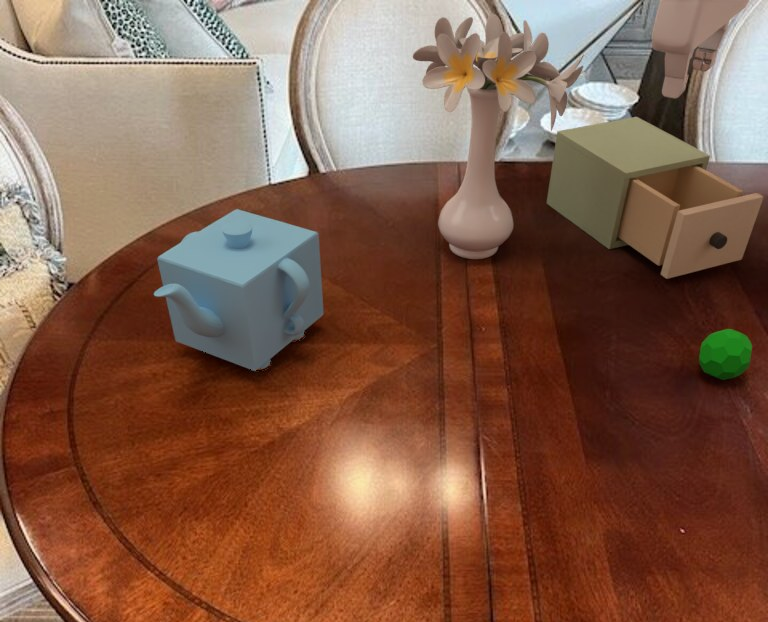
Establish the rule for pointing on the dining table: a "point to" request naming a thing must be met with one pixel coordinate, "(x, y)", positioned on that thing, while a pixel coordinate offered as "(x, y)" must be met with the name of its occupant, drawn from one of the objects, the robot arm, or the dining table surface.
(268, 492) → the dining table surface
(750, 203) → the drawer
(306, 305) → the teapot
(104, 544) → the dining table surface
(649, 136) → the cabinet
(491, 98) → the flower vase
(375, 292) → the dining table surface
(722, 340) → the polyhedron
